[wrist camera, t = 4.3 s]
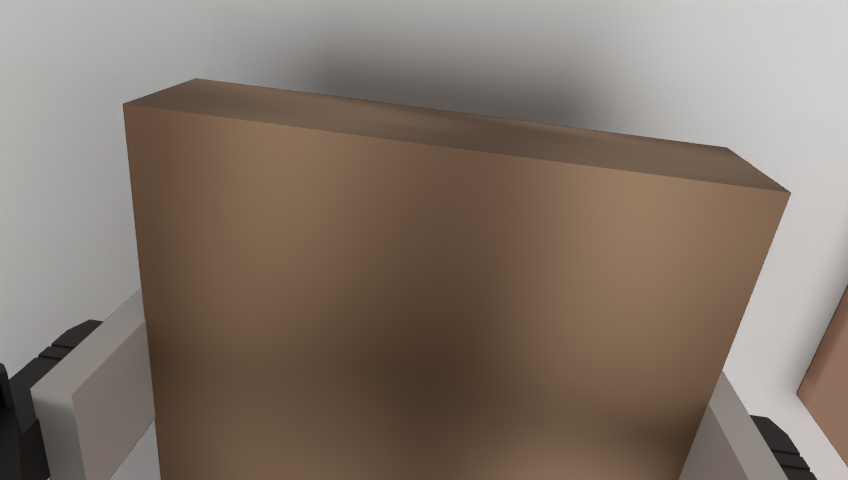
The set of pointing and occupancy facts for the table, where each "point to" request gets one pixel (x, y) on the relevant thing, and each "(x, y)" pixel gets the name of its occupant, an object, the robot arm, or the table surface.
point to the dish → (830, 382)
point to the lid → (431, 288)
